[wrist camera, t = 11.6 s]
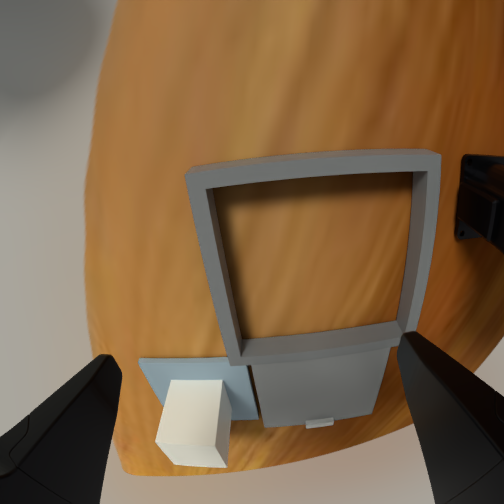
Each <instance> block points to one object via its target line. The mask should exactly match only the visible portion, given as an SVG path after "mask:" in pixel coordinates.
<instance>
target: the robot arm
mask: <svg viewBox="0 0 504 504" xmlns="http://www.w3.org/2000/svg"><path fill="white" fill-rule="evenodd" d="M468 159H469V163H468V164H467V161H468ZM461 231H462V232H461ZM460 232H461V234H460ZM455 236H456V237H457V238H459V239H469V238H478V237H483V238H484V239H485V240H486V241H488V242H490V243H491V244H493V245H494V246H495V247H496V248H497V249H498V250H500V251H501V252H502V253H503V254H504V156H492V155H478V154H465V155H464V156H463V157H462V165H461V181H460V192H459V202H458V211H457V220H456V227H455ZM397 360H398V364H399V368H400V372H401V377H402V381H403V386H404V391H405V395H406V400H407V403H408V406H409V409H410V413H411V416H412V419H413V422H414V425H415V428H416V432H417V435H418V438H419V441H420V445H421V449H422V452H423V456H424V459H425V463H426V467H427V471H428V475H429V479H430V483H431V487H432V491H433V496H434V500H435V504H504V397H503V396H502V395H501V394H499V393H498V392H497V391H495V390H494V389H493V388H491V387H490V386H489V385H488V384H486V383H485V382H484V381H482V380H481V379H480V378H478V377H477V376H476V375H475V374H473V373H472V372H471V371H469V370H468V369H467V368H465V367H464V366H463V365H461V364H460V363H459V362H457V361H456V360H455V359H453V358H452V357H451V356H449V355H448V354H446V353H445V352H444V351H442V350H441V349H440V348H438V347H437V346H436V345H434V344H433V343H431V342H430V341H429V340H427V339H426V338H425V337H423V336H422V335H420V334H419V333H418V332H416V331H410V332H405V333H403V334H402V335H401V339H400V343H399V346H398V350H397ZM121 383H122V372H121V369H120V368H119V366H118V364H117V363H116V361H115V359H114V357H113V356H112V355H109V354H100V355H99V356H97V357H96V358H95V359H94V360H92V361H91V362H90V363H89V364H88V365H86V366H85V367H84V368H83V369H82V370H81V371H79V372H78V373H77V374H76V375H74V376H73V377H72V378H71V379H70V380H69V381H67V382H66V383H65V384H64V385H63V386H61V387H60V388H59V389H58V390H57V391H55V392H54V393H53V394H52V395H51V396H50V397H48V398H47V399H46V400H45V401H44V402H43V403H41V404H40V405H39V406H38V407H37V408H35V409H34V410H33V411H32V412H31V413H30V415H27V416H26V417H25V418H24V419H23V420H21V422H19V423H18V424H17V425H15V426H14V427H13V428H12V429H11V430H9V431H8V432H7V433H5V434H4V435H2V436H1V437H0V504H100V498H101V491H102V486H103V480H104V474H105V469H106V464H107V459H108V454H109V449H110V444H111V440H112V435H113V431H114V426H115V422H116V417H117V411H118V404H119V397H120V390H121Z"/></svg>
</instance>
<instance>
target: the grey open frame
mask: <svg viewBox="0 0 504 504" xmlns="http://www.w3.org/2000/svg"><path fill="white" fill-rule="evenodd" d="M405 171H413V186H412V206H411V220H410V231H409V241H408V250H407V258H406V266H405V273H404V280H403V286H402V292H401V298H400V303H399V309H398V314H397V319H396V321H391V322H385V323H379V324H373V325H367V326H360V327H354V328H347V329H340V330H332V331H324V332H316V333H308V334H299V335H289V336H279V337H268V338H256V339H242V337H241V333H240V328H239V323H238V318H237V313H236V309H235V304H234V299H233V294H232V289H231V284H230V279H229V274H228V269H227V264H226V259H225V253H224V248H223V243H222V238H221V232H220V227H219V222H218V216H217V211H216V205H215V200H214V194H213V189H212V188H216V187H224V186H231V185H239V184H247V183H256V182H264V181H273V180H283V179H293V178H304V177H316V176H329V175H343V174H359V173H378V172H405ZM440 175H441V155H440V154H438V153H435V152H432V151H430V150H427V149H364V150H342V151H325V152H311V153H298V154H287V155H277V156H268V157H259V158H250V159H242V160H235V161H228V162H220V163H214V164H207V165H201V166H195V167H192V168H191V169H190V170H189V171H188V172H187V173H186V174H185V179H186V184H187V189H188V194H189V199H190V204H191V208H192V213H193V218H194V222H195V227H196V232H197V236H198V241H199V245H200V249H201V254H202V258H203V262H204V267H205V271H206V275H207V279H208V283H209V288H210V292H211V296H212V300H213V304H214V308H215V312H216V315H217V319H218V323H219V327H220V331H221V335H222V338H223V342H224V346H225V350H226V353H227V357H228V360H229V364H230V366H245V365H251V366H252V371H253V376H254V381H255V385H256V390H257V395H258V400H259V404H260V409H261V413H262V418H263V423H264V427H265V428H266V427H281V426H293V425H303V424H306V429H307V428H315V427H323V426H330V425H333V424H334V420H340V419H346V418H352V417H358V416H363V415H368V414H372V411H373V408H374V405H375V402H376V399H377V395H378V392H379V389H380V385H381V382H382V378H383V375H384V371H385V367H386V364H387V360H388V356H389V352H390V348H391V347H395V346H399V343H400V339H401V335H402V334H403V333H405V332H410V331H416V328H417V324H418V320H419V316H420V312H421V308H422V304H423V299H424V295H425V290H426V286H427V281H428V275H429V270H430V264H431V259H432V252H433V246H434V239H435V231H436V223H437V214H438V204H439V192H440Z"/></svg>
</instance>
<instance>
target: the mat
mask: <svg viewBox="0 0 504 504" xmlns="http://www.w3.org/2000/svg"><path fill="white" fill-rule="evenodd" d="M138 364H139V366H140V367H141V369H142V371H143V373H144V375H145V376H146V378H147V380H148V382H149V383H150V385H151V387H152V389H153V390H154V392H155V394H156V395H157V397H158V399H159V400H160V402H161V404H162V405H163V407H164V405H165V401H166V397H167V393H168V389H169V386H170V382H171V380H223V383H224V386H225V389H226V392H227V395H228V398H229V401H230V404H231V407H232V414H231V420H257V419H259V414H258V409H257V405H256V401H255V396H254V392H253V387H252V383H251V379H250V374H249V370H248V365H245V366H230V364H229V360H228V357H213V358H139V361H138Z"/></svg>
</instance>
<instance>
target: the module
mask: <svg viewBox="0 0 504 504" xmlns="http://www.w3.org/2000/svg"><path fill="white" fill-rule="evenodd" d="M231 414H232V407H231V404H230V401H229V398H228V395H227V392H226V389H225V386H224V383H223V380H171V382H170V386H169V389H168V393H167V397H166V401H165V405H164V409H163V413H162V417H161V421H160V425H159V429H158V433H157V437H156V441H155V442H156V443H157V445H158V446H159V447H160V448H161V449H162V451H163V452H164V453H165V454H166V455H167V456H168V458H169V459H170V460H171V461H172V462H173V463H174V464H175V465H186V466H199V467H219V468H227V463H228V451H229V439H230V426H231Z"/></svg>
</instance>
